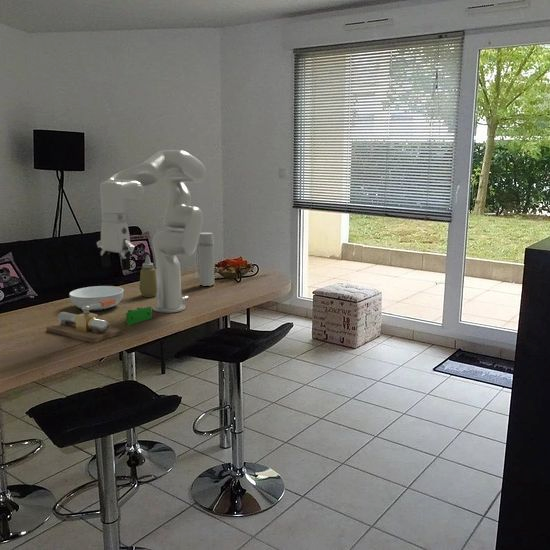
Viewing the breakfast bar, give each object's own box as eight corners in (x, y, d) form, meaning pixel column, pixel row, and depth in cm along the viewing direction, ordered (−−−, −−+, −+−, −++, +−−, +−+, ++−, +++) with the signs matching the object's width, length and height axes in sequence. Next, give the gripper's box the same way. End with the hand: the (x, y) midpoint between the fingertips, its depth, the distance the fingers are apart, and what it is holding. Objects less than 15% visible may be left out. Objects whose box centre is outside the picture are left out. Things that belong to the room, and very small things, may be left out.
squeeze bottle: (157, 293, 259) (155, 253, 255) (159, 297, 251) (158, 256, 248) (138, 294, 256) (137, 254, 253) (140, 298, 249) (138, 257, 245)
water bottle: (217, 284, 278) (216, 232, 273) (211, 287, 270) (210, 234, 265) (198, 283, 280) (197, 231, 275) (193, 286, 272) (191, 234, 267)
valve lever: (85, 315, 196) (85, 307, 195) (80, 314, 197) (79, 306, 197) (116, 307, 207) (115, 299, 206) (110, 306, 208) (110, 298, 208)
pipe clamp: (144, 317, 221) (144, 305, 220) (151, 318, 219) (151, 307, 218) (121, 323, 212) (121, 311, 211) (128, 325, 210) (128, 313, 209)
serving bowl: (98, 299, 248) (97, 283, 246) (135, 305, 238) (134, 289, 236) (58, 310, 230) (57, 293, 229) (96, 317, 220) (95, 299, 219)
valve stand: (74, 323, 212) (74, 319, 211) (121, 333, 199) (121, 329, 199) (46, 331, 202) (46, 327, 201) (93, 343, 189) (93, 338, 189)
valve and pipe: (68, 321, 208) (67, 308, 207) (111, 331, 196) (110, 317, 195) (56, 325, 204) (55, 311, 203) (99, 335, 192) (98, 320, 191)
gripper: (140, 218, 194) (142, 269, 197) (104, 215, 203) (107, 263, 206) (123, 221, 187) (125, 272, 191) (87, 217, 197) (90, 267, 200)
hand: (116, 268), depth 199 cm, fingers open, 9 cm apart
